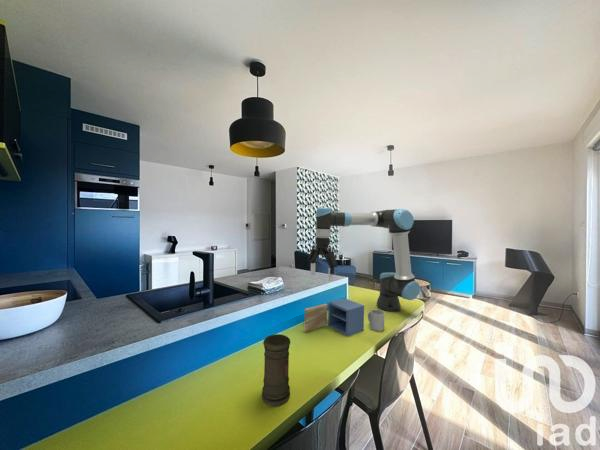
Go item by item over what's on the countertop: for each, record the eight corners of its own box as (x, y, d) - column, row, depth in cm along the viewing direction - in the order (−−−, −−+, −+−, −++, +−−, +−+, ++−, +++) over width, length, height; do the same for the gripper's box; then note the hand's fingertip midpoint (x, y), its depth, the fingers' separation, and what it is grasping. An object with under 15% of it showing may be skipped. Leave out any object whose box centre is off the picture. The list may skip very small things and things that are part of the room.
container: (266, 410, 71) (267, 349, 71) (258, 390, 79) (259, 336, 79) (294, 401, 75) (295, 344, 74) (284, 383, 83) (285, 331, 83)
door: (327, 324, 129) (328, 304, 128) (305, 331, 120) (306, 309, 120) (326, 323, 130) (326, 303, 129) (304, 330, 121) (304, 308, 121)
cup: (376, 332, 123) (377, 315, 123) (363, 325, 132) (363, 308, 131) (387, 330, 126) (387, 313, 126) (373, 322, 135) (373, 306, 135)
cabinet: (343, 321, 136) (344, 298, 136) (363, 330, 125) (364, 305, 125) (328, 326, 129) (328, 301, 129) (347, 336, 118) (348, 310, 118)
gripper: (302, 235, 133) (300, 273, 134) (334, 239, 114) (333, 284, 114) (312, 235, 138) (311, 272, 138) (345, 238, 118) (344, 282, 118)
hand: (321, 277), depth 126 cm, fingers open, 13 cm apart
